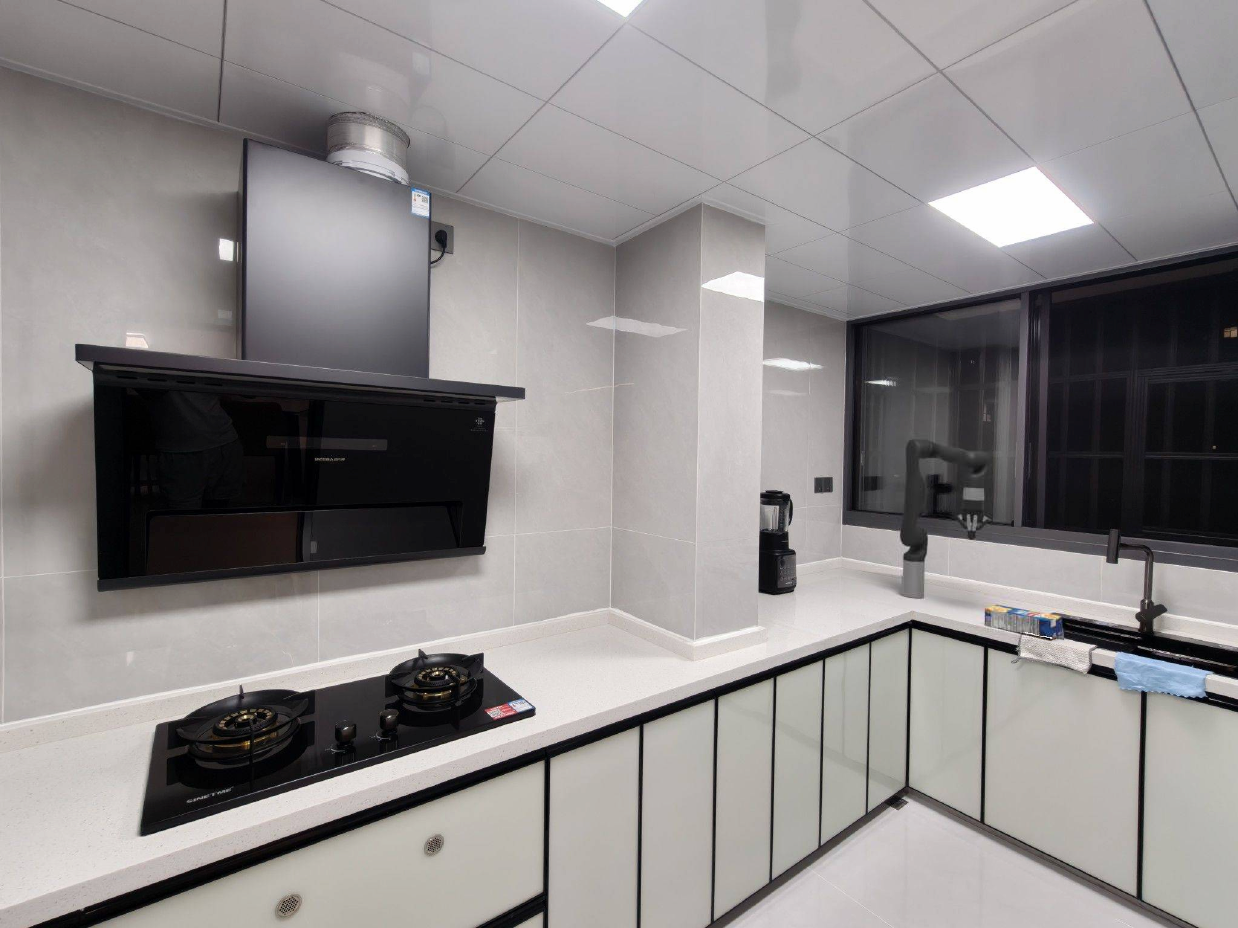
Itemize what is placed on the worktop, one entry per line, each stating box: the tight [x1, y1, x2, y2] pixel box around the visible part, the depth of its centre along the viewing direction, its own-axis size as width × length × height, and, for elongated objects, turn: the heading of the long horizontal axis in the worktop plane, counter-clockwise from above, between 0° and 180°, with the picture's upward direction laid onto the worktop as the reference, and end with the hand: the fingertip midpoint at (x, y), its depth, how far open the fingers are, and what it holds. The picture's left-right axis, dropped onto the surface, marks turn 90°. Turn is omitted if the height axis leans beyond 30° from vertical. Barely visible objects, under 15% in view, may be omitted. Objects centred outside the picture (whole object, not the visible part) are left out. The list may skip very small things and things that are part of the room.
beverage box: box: [984, 604, 1063, 639], centre depth 217 cm, size 7×11×22 cm
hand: (971, 539), depth 236 cm, fingers closed
